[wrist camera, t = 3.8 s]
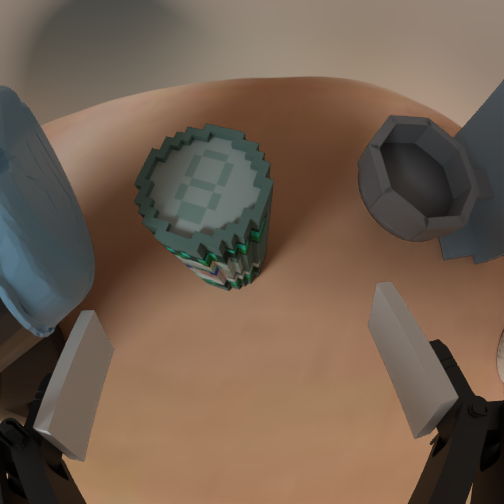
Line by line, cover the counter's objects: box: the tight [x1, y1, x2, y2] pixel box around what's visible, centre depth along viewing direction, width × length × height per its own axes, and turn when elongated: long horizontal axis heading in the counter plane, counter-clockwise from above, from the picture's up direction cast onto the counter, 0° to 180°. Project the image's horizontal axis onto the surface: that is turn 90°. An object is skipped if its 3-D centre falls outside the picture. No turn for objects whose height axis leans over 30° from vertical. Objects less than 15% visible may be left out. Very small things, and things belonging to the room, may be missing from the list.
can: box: [134, 124, 274, 291], centre depth 21 cm, size 6×6×15 cm
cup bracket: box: [358, 80, 504, 264], centre depth 16 cm, size 17×14×26 cm
